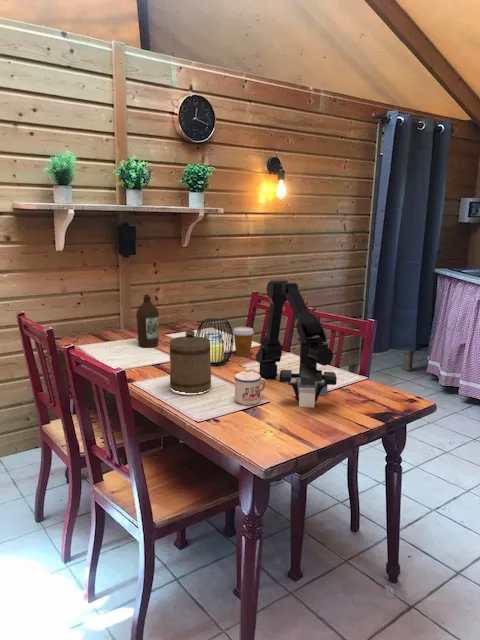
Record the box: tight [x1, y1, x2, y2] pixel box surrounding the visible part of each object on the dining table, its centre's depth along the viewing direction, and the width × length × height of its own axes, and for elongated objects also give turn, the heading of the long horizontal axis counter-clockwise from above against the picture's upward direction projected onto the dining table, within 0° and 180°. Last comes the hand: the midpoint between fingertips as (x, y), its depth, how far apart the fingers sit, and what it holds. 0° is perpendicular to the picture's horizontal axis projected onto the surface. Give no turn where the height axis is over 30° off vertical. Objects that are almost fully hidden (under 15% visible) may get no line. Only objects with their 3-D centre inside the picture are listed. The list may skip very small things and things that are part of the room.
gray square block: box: [297, 372, 328, 397], centre depth 181 cm, size 10×10×5 cm
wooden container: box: [169, 329, 212, 393], centre depth 180 cm, size 15×15×22 cm
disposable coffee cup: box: [232, 326, 255, 358], centre depth 225 cm, size 10×10×12 cm
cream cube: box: [298, 388, 315, 408], centre depth 168 cm, size 5×5×5 cm
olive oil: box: [135, 293, 160, 349], centre depth 237 cm, size 11×11×25 cm
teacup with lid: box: [234, 367, 267, 406], centre depth 170 cm, size 12×9×12 cm
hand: (306, 401), depth 168 cm, fingers open, 6 cm apart
